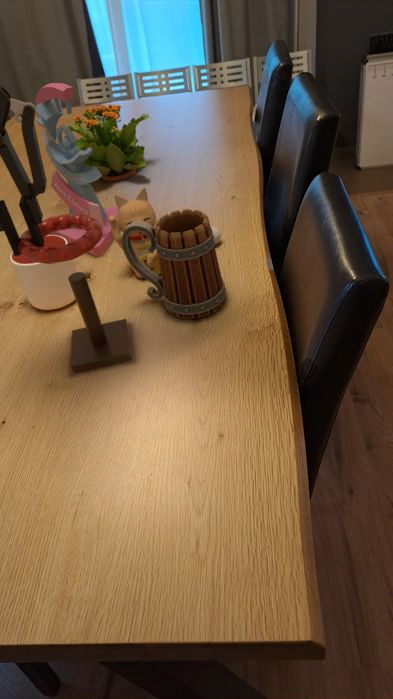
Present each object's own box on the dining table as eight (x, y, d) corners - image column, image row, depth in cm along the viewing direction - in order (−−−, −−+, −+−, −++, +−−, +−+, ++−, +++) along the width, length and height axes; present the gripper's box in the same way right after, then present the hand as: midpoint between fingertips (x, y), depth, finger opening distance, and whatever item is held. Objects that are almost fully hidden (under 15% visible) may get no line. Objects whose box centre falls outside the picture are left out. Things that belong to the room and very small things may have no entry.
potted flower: (180, 171, 129) (168, 99, 118) (100, 204, 121) (78, 129, 109) (134, 151, 146) (119, 86, 135) (60, 179, 137) (38, 112, 126)
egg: (192, 243, 100) (189, 226, 97) (221, 237, 100) (219, 220, 97) (195, 252, 97) (192, 235, 94) (225, 247, 97) (223, 229, 94)
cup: (53, 278, 97) (35, 232, 91) (94, 285, 93) (78, 237, 86) (19, 308, 91) (-3, 261, 84) (62, 317, 87) (42, 268, 80)
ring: (102, 218, 71) (99, 205, 69) (104, 256, 62) (100, 242, 61) (26, 233, 70) (21, 220, 69) (17, 273, 62) (11, 259, 61)
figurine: (128, 288, 90) (107, 211, 81) (120, 263, 98) (100, 190, 88) (173, 275, 91) (157, 199, 82) (162, 251, 99) (146, 178, 89)
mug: (231, 284, 87) (222, 203, 77) (220, 322, 79) (208, 238, 69) (147, 283, 91) (128, 207, 81) (129, 319, 83) (105, 239, 73)
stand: (128, 325, 82) (107, 254, 73) (131, 360, 75) (108, 286, 66) (74, 337, 82) (46, 267, 73) (73, 373, 75) (42, 301, 66)
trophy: (45, 233, 113) (-9, 90, 93) (102, 203, 121) (63, 65, 101) (97, 257, 101) (48, 98, 81) (157, 222, 109) (125, 70, 89)
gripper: (25, 26, 54) (86, 224, 69) (-117, 53, 53) (-23, 246, 68) (17, 36, 48) (86, 249, 63) (-141, 67, 47) (-33, 274, 63)
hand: (29, 248), depth 66 cm, fingers closed on ring, 2 cm apart
